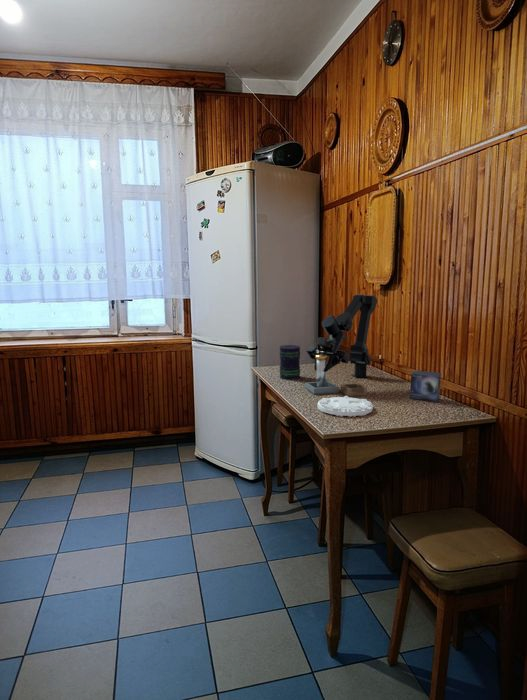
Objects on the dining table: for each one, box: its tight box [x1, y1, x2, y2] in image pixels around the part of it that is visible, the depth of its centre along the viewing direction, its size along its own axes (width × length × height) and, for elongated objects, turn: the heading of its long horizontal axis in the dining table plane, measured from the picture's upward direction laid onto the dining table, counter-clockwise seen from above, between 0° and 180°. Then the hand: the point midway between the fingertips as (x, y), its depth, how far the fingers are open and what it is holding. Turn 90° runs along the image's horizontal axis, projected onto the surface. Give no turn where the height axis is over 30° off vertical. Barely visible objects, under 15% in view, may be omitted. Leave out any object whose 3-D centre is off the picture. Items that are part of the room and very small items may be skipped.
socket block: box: [340, 382, 368, 397], centre depth 194 cm, size 8×8×3 cm
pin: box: [315, 354, 329, 387], centre depth 198 cm, size 5×5×13 cm
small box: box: [409, 370, 442, 403], centre depth 184 cm, size 11×6×10 cm, turn 62°
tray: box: [304, 380, 340, 396], centre depth 199 cm, size 11×11×2 cm
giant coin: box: [317, 395, 374, 418], centre depth 172 cm, size 20×20×3 cm
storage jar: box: [279, 344, 301, 381], centre depth 223 cm, size 10×10×15 cm
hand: (320, 370), depth 197 cm, fingers closed on pin, 4 cm apart
